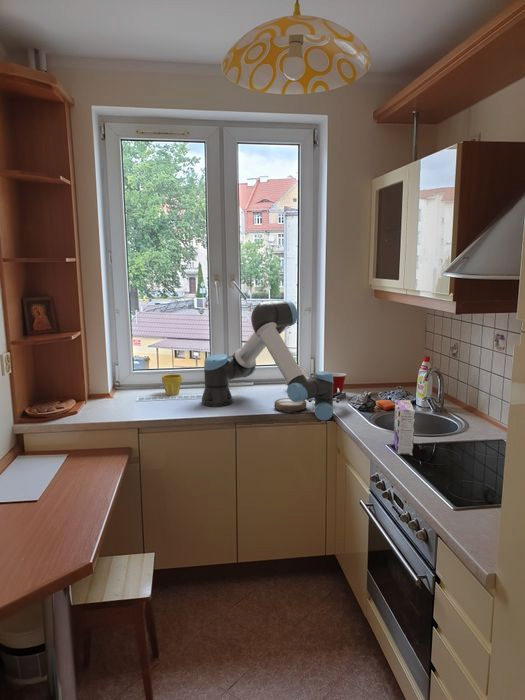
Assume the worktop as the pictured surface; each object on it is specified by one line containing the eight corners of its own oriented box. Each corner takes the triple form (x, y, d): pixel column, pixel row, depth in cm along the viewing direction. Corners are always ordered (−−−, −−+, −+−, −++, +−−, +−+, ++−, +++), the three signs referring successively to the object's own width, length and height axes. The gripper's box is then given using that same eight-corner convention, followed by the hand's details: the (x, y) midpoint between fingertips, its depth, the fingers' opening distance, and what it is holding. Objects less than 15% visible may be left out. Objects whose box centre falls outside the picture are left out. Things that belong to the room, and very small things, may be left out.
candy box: (393, 441, 187) (394, 399, 184) (409, 441, 186) (411, 399, 183) (396, 454, 174) (397, 409, 171) (413, 455, 173) (415, 410, 170)
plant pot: (170, 390, 267) (169, 373, 265) (186, 392, 262) (185, 374, 261) (158, 395, 258) (157, 377, 256) (174, 397, 253) (174, 378, 251)
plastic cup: (345, 393, 257) (345, 371, 255) (346, 399, 247) (347, 375, 245) (324, 393, 258) (324, 371, 256) (325, 398, 248) (325, 375, 246)
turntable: (270, 403, 236) (270, 399, 236) (298, 400, 241) (298, 396, 240) (281, 412, 222) (281, 407, 222) (311, 408, 227) (311, 404, 227)
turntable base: (274, 406, 235) (274, 404, 235) (297, 403, 239) (297, 402, 239) (283, 413, 224) (283, 411, 224) (307, 410, 228) (307, 409, 228)
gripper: (295, 410, 218) (297, 397, 238) (352, 411, 215) (350, 398, 235) (295, 393, 216) (297, 382, 237) (352, 395, 213) (350, 383, 234)
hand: (323, 390), depth 236 cm, fingers open, 13 cm apart
